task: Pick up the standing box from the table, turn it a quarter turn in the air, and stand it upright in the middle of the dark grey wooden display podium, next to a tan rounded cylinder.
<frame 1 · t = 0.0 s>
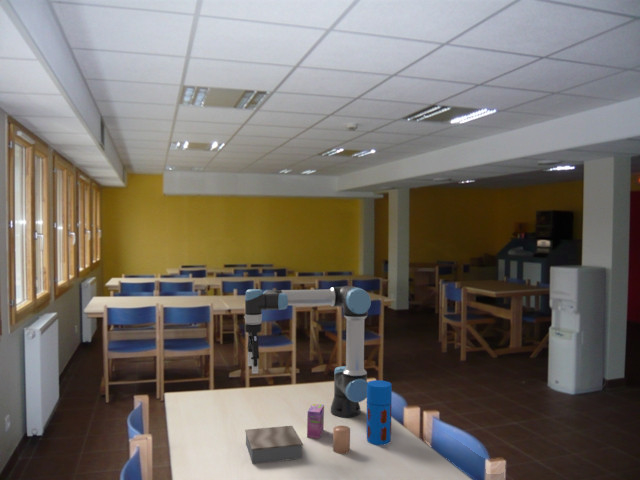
hand: (252, 369, 240), 28 cm above the table, tool pointing down, fingers open, 13 cm apart
box: (315, 434, 237), on the table
podium: (273, 450, 217), on the table
thermos: (378, 440, 230), on the table
tan rounded cylinder: (341, 450, 219), on the table
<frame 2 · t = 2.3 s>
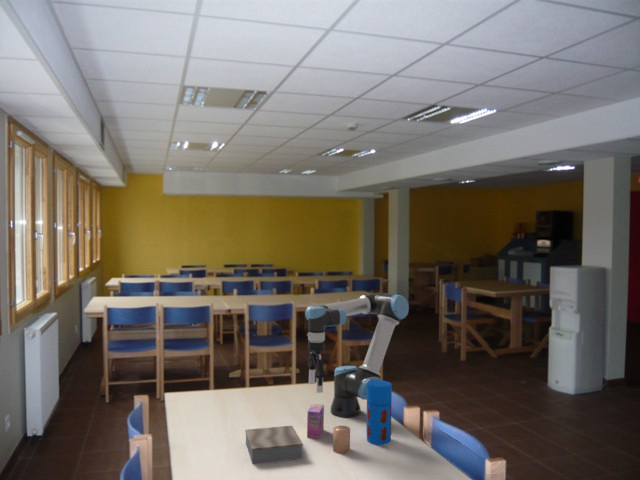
hand: (315, 388, 236), 21 cm above the table, tool pointing down, fingers open, 13 cm apart
nothing on the table moved.
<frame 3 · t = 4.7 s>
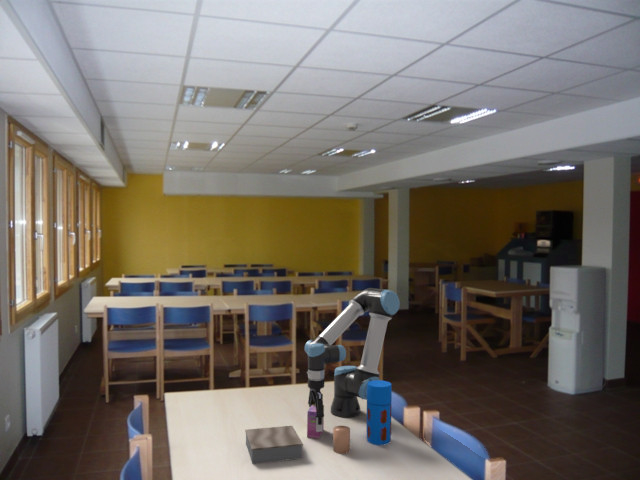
hand: (315, 426, 237), 3 cm above the table, tool pointing down, fingers closed on box, 12 cm apart
box: (315, 434, 237), on the table, touching gripper
everything else where it was.
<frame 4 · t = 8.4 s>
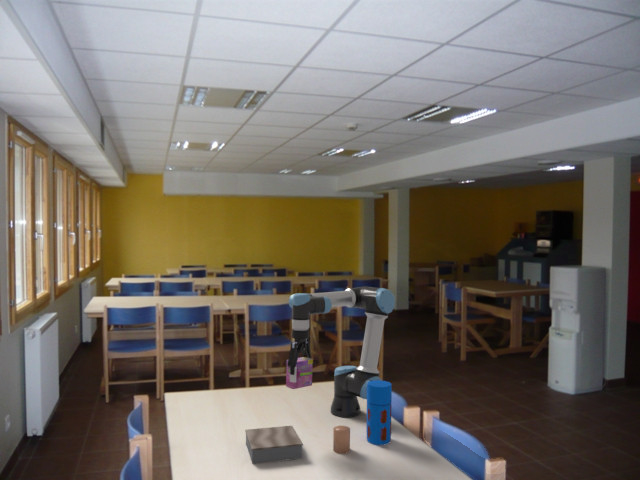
hand: (299, 378, 229), 27 cm above the table, tool pointing down, fingers closed on box, 12 cm apart
box: (299, 386, 229), point 24 cm above the table, touching gripper
everything else where it was.
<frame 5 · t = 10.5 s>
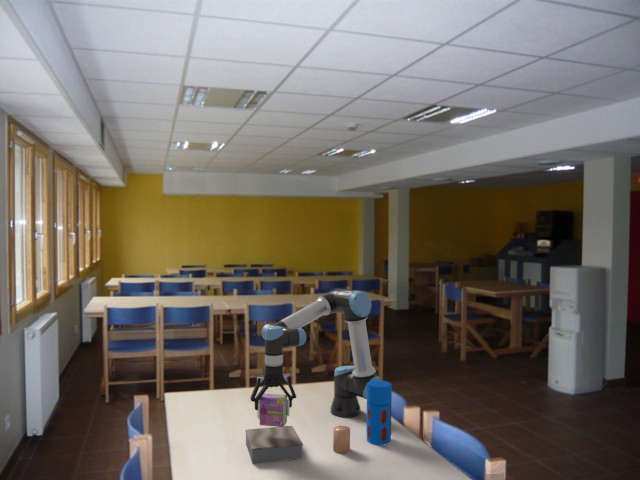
hand: (273, 416, 217), 14 cm above the table, tool pointing down, fingers closed on box, 12 cm apart
box: (273, 424, 217), point 11 cm above the table, touching gripper
everything else where it was.
when the fingers open (11 cm above the table, at t = 12.4 s): box drops 1 cm, resting on podium.
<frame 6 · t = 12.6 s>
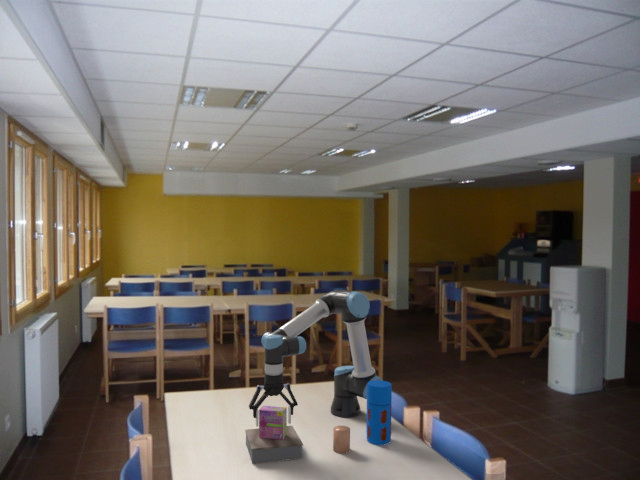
hand: (273, 424, 217), 11 cm above the table, tool pointing down, fingers open, 13 cm apart
box: (272, 437, 217), point 6 cm above the table, touching podium
everything else where it was.
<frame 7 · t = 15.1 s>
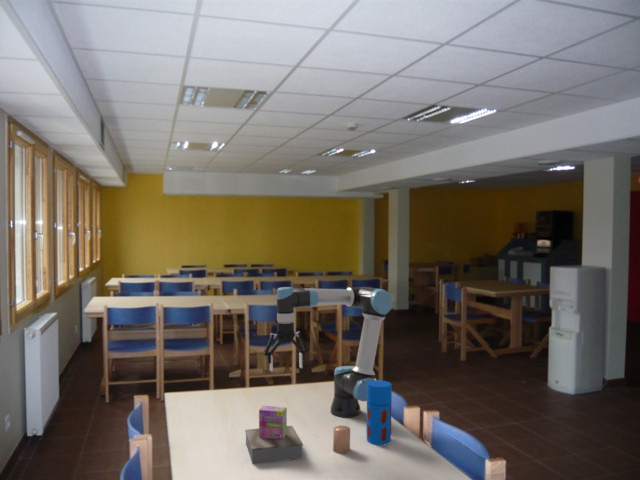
hand: (286, 369, 235), 30 cm above the table, tool pointing down, fingers open, 13 cm apart
nothing on the table moved.
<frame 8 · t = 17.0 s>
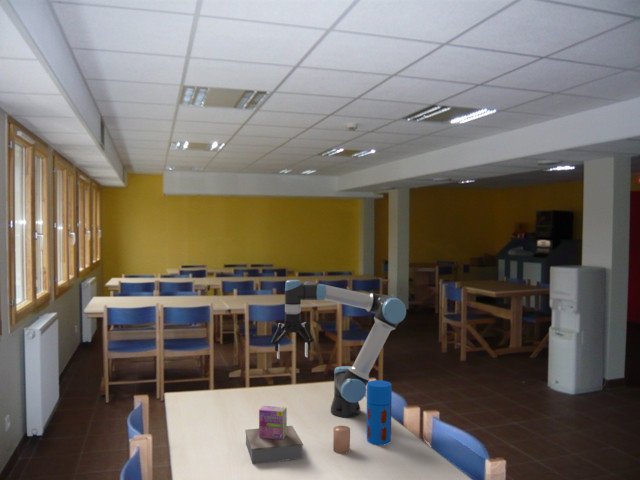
hand: (292, 357, 248), 32 cm above the table, tool pointing down, fingers open, 13 cm apart
nothing on the table moved.
at the end: box inside the target area on the podium (0.1 cm from its centre), point 5.8 cm above the podium's base; box tilted 0°; the gripper is holding nothing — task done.
